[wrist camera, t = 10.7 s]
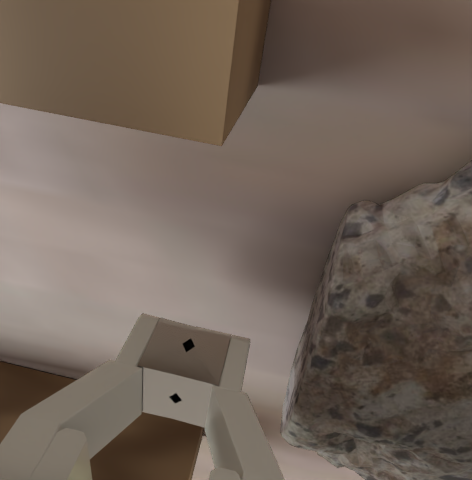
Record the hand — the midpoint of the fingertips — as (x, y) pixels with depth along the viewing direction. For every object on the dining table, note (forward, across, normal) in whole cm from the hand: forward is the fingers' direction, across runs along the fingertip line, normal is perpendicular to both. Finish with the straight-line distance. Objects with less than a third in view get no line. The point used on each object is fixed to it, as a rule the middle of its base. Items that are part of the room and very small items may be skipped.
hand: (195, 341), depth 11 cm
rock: (+3, +7, 0) cm, 7 cm away
